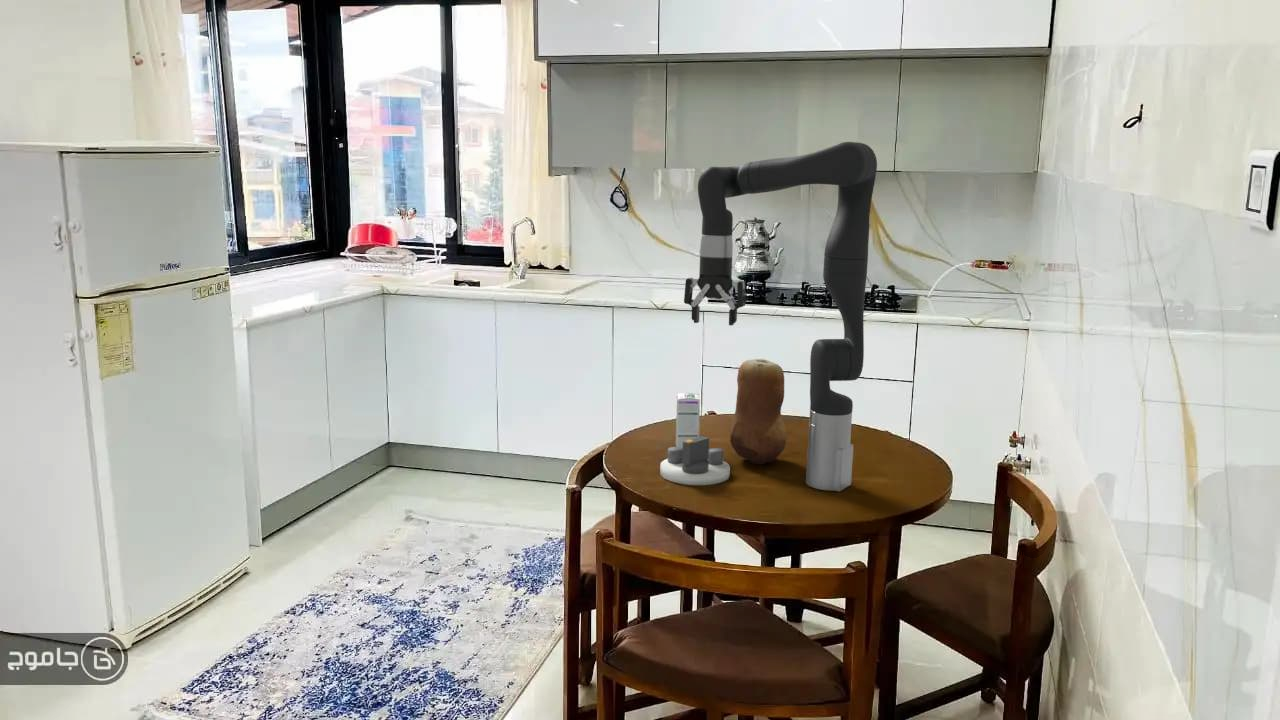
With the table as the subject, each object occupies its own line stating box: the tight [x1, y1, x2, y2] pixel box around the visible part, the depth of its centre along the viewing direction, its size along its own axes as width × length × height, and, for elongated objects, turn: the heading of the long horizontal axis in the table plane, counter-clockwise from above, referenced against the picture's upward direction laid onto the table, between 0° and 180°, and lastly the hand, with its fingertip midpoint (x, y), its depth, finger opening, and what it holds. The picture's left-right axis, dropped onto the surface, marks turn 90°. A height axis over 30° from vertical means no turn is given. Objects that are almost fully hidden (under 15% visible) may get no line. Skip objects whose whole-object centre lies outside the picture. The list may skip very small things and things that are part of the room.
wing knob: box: [682, 435, 710, 474], centre depth 214 cm, size 7×6×7 cm
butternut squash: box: [729, 358, 787, 466], centre depth 227 cm, size 14×13×25 cm
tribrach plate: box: [659, 446, 731, 486], centre depth 219 cm, size 16×16×5 cm
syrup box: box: [675, 392, 701, 448], centre depth 234 cm, size 6×6×14 cm
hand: (713, 323), depth 222 cm, fingers open, 8 cm apart
